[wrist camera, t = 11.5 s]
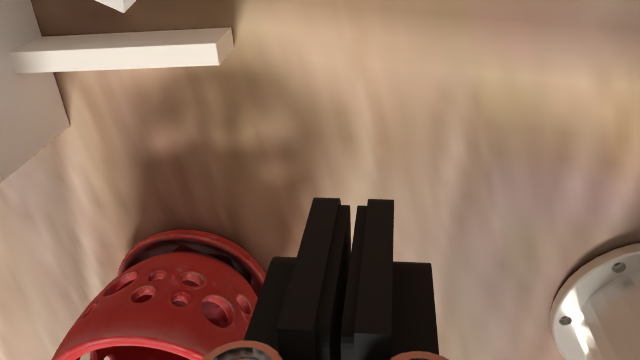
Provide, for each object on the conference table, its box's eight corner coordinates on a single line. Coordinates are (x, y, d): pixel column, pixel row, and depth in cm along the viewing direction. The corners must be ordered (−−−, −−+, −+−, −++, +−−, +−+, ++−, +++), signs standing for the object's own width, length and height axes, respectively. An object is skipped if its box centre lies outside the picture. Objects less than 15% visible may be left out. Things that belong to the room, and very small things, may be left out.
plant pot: (117, 322, 45) (38, 456, 35) (130, 192, 39) (38, 308, 29) (270, 362, 46) (236, 506, 36) (307, 240, 39) (280, 372, 29)
